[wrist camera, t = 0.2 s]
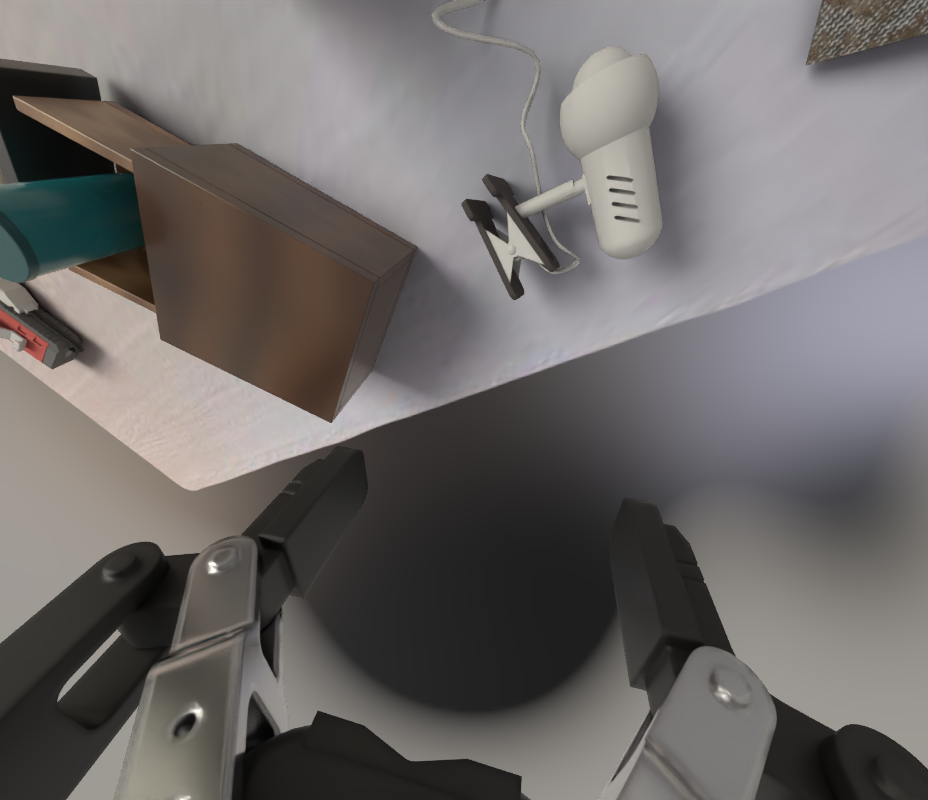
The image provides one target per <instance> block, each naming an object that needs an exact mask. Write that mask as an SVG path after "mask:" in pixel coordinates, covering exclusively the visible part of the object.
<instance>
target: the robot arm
mask: <svg viewBox="0 0 928 800" xmlns="http://www.w3.org/2000/svg"><path fill="white" fill-rule="evenodd" d="M367 490H368V483H367V476H366V469H365V462H364V455H363V452H362V451H361V450H358V449H353V448H347V447H342V446H338V447H336V448H334V450H333V451H332V452H331V453H330V454H329V455H328V456H327V457H326V458H325V460H322V459H318V460H317V461H315V462H314V463H311V464H310V465H308V466H306V467H305V468H303V469H302V470H301V471H300V473H299V474H298V475H297V476H296V477H295V478H294V479H293V480H292V483H289V485H287V487H286V488H285V489H284V490H283V492H282V493H280V494H279V495H278V496H277V497H276V498H275V499H274V500H273V501H272V503H271V504H270V505H269V506H268V507H267V508H266V509H265V510H264V511H263V512H262V513H261V514H260V516H259V517H258V518H257V519H256V520H255V521H254V522H253V523H252V524H251V525H250V526H249V527H248V528H247V529H246V530H245V532H243V533H242V534H241V535H239V536H231V537H227V538H224V539H221V540H219V541H217V542H215V543H213V544H211V545H210V546H208V547H207V548H206V549H204V550H203V551H202V552H201V553H195V554H184V555H173V556H164V554H163V552H162V551H161V549H160V548H159V547H158V545H156V544H154V543H151V542H138V543H133V544H130V545H127V546H124V547H122V548H119V549H117V550H115V551H113V552H112V553H110V554H108V555H107V556H105V557H104V558H102V559H101V560H100V561H98V562H97V563H96V564H95V565H93V566H92V567H91V568H90V569H89V570H88V571H86V572H85V573H84V574H83V575H81V576H80V577H79V578H78V579H77V580H75V581H74V582H73V583H72V584H71V585H70V586H68V587H67V588H66V589H65V590H64V591H62V592H61V593H60V594H59V595H58V596H57V597H55V598H54V599H53V600H52V601H51V602H49V603H48V604H47V605H46V606H45V607H43V608H42V609H41V610H40V611H39V612H37V613H36V614H35V615H34V616H33V617H31V618H30V619H29V620H28V621H27V622H26V623H24V625H22V626H21V627H20V628H19V629H17V630H16V631H15V632H14V633H12V634H11V635H10V636H9V637H8V638H7V639H5V640H4V641H3V642H2V643H1V644H0V800H66V799H67V798H68V796H69V795H70V794H71V792H72V791H73V790H74V789H75V787H76V786H77V785H78V783H79V782H80V781H81V780H82V778H83V777H84V776H85V774H86V773H87V772H88V770H89V769H90V768H91V766H92V765H93V764H94V763H95V761H96V760H97V759H98V757H99V756H100V755H101V754H102V752H103V751H104V750H105V748H106V747H107V746H108V745H109V743H110V742H111V741H112V739H113V738H114V737H115V735H116V734H117V733H118V732H119V730H120V729H121V727H122V726H123V725H124V724H125V722H126V721H127V720H128V719H129V717H130V716H131V715H132V713H133V712H134V711H135V709H136V708H137V707H138V706H139V707H138V711H137V714H136V718H135V722H134V725H133V729H132V733H131V736H130V740H129V745H128V748H127V752H126V755H125V759H124V762H123V766H122V770H121V774H120V777H119V781H118V785H117V788H116V792H115V796H114V799H113V800H530V799H529V798H528V797H526V796H525V795H524V794H523V793H521V778H522V777H521V776H519V775H516V774H513V773H509V772H506V771H503V770H500V769H497V768H494V767H491V766H488V765H485V764H481V763H478V762H475V761H472V760H469V759H458V760H437V761H418V762H415V761H409V760H407V759H405V758H404V757H403V756H401V755H400V754H399V753H398V752H396V751H395V750H394V749H393V748H391V747H390V746H389V745H388V744H386V743H385V742H384V741H383V740H381V739H380V738H379V737H378V736H376V735H375V734H374V733H373V732H371V731H370V730H369V729H368V728H366V727H365V726H363V725H361V724H357V723H354V722H351V721H348V720H345V719H342V718H339V717H336V716H333V715H330V714H327V713H323V712H320V711H317V714H316V716H315V718H314V720H313V723H312V725H310V726H304V727H299V728H295V729H292V730H290V728H289V714H288V705H287V700H286V695H285V690H284V677H283V611H282V605H283V603H284V602H285V600H286V599H287V597H288V596H289V595H292V596H296V597H300V598H304V597H305V596H306V594H307V592H308V591H309V589H310V588H311V586H312V585H313V583H314V581H315V580H316V578H317V577H318V575H319V573H320V572H321V570H322V569H323V567H324V565H325V564H326V562H327V561H328V559H329V557H330V556H331V554H332V553H333V551H334V549H335V548H336V546H337V545H338V543H339V541H340V540H341V538H342V537H343V535H344V534H345V532H346V530H347V529H348V527H349V526H350V524H351V522H352V521H353V519H354V518H355V516H356V514H357V513H358V511H359V509H360V508H361V506H362V504H363V503H364V501H365V498H366V495H367ZM609 558H610V564H611V570H612V576H613V583H614V589H615V595H616V601H617V607H618V614H619V620H620V626H621V632H622V638H623V645H624V651H625V656H626V663H627V669H628V676H629V681H630V686H631V687H634V688H638V689H642V690H646V691H647V695H648V700H649V705H650V710H649V711H648V712H647V714H646V716H645V718H644V719H643V721H642V723H641V724H640V726H639V728H638V730H637V732H636V734H635V735H634V737H633V739H632V741H631V742H630V744H629V746H628V748H627V749H626V751H625V753H624V755H623V757H622V759H621V760H620V762H619V764H618V766H617V767H616V769H615V771H614V773H613V775H612V776H611V778H610V780H609V782H608V784H607V785H606V787H605V789H604V790H603V792H602V793H601V795H600V796H599V798H598V799H597V800H928V769H927V768H926V767H925V766H924V765H923V764H922V763H921V762H920V761H919V760H918V759H917V758H916V757H914V756H913V755H912V754H911V753H910V752H908V751H907V750H906V749H905V748H903V747H902V746H901V745H899V744H898V743H896V742H895V741H894V740H892V739H890V738H889V737H887V736H886V735H884V734H882V733H880V732H878V731H876V730H874V729H871V728H869V727H866V726H862V725H856V724H850V725H846V726H844V727H842V728H841V729H839V730H838V731H834V730H832V729H830V728H829V727H827V726H825V725H823V724H821V723H819V722H817V721H816V720H814V719H812V718H810V717H809V716H807V715H805V714H803V713H801V712H799V711H798V710H796V709H794V708H792V707H790V706H788V705H787V704H785V703H783V702H782V701H780V700H778V699H777V698H775V697H774V696H772V695H771V694H769V692H768V690H767V689H766V687H765V686H764V684H763V683H762V681H761V680H760V679H759V678H758V676H757V675H756V674H755V673H754V672H753V671H752V670H751V669H750V668H749V667H748V666H747V665H746V664H745V663H743V662H742V661H741V660H739V659H738V658H737V657H736V656H735V654H734V652H733V650H732V648H731V645H730V643H729V640H728V638H727V635H726V633H725V630H724V628H723V625H722V623H721V620H720V618H719V616H718V613H717V611H716V608H715V606H714V603H713V600H712V598H711V596H710V593H709V591H708V588H707V586H706V584H705V583H704V578H703V576H702V573H701V571H700V568H699V567H697V561H696V558H695V556H694V553H693V551H692V549H691V546H690V544H689V542H688V541H687V540H686V539H685V538H684V536H683V535H682V534H681V533H680V532H679V531H678V529H677V528H676V527H675V526H671V525H666V524H663V522H662V519H661V516H660V513H659V510H658V507H657V505H656V504H655V503H653V502H647V501H642V500H636V499H630V498H625V499H624V500H623V502H622V504H621V507H620V509H619V512H618V515H617V517H616V520H615V523H614V525H613V528H612V531H611V534H610V539H609ZM116 630H118V631H119V632H120V633H121V635H120V636H119V637H118V639H117V640H116V641H115V642H114V643H113V644H112V645H111V646H110V647H109V648H108V649H107V650H106V651H105V652H104V653H103V654H102V656H101V657H100V658H99V659H98V660H97V661H96V662H95V663H94V664H93V665H92V666H91V667H90V668H89V669H88V671H87V672H86V673H85V674H84V675H83V676H82V677H81V678H80V679H79V680H78V681H77V682H76V683H75V684H74V685H73V686H72V688H71V689H70V690H69V691H68V692H67V693H66V694H65V695H64V696H63V697H62V698H61V699H60V700H59V701H58V702H57V699H58V696H59V693H60V691H61V690H62V688H63V686H64V685H65V684H66V682H67V681H68V680H69V679H70V677H72V675H73V674H74V673H75V672H76V671H77V670H78V669H79V668H80V667H81V666H82V665H83V664H84V663H85V662H86V661H87V660H88V659H89V658H90V657H91V656H92V655H93V654H94V653H95V651H96V650H97V649H98V648H99V647H100V646H101V645H102V644H103V643H104V642H105V641H106V640H107V639H108V638H109V637H110V636H111V635H112V634H113V633H114V632H115V631H116Z"/></svg>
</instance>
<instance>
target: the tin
mask: <svg viewBox="0 0 928 800" xmlns="http://www.w3.org/2000/svg"><path fill="white" fill-rule="evenodd" d="M144 246H145V241H144V234H143V228H142V222H141V216H140V210H139V204H138V198H137V191H136V185H135V179H134V173H132V172H123V173H112V174H102V175H92V176H81V177H71V178H61V179H50V180H40V181H30V182H19V183H9V184H0V277H1V278H3V279H5V280H8V281H11V282H17V283H22V282H26V281H30V280H33V279H35V278H36V277H37V276H41V275H44V274H48V273H51V272H55V271H59V270H62V269H66V268H69V267H73V266H76V265H80V264H84V263H87V262H91V261H94V260H98V259H101V258H105V257H109V256H112V255H116V254H119V253H123V252H126V251H130V250H134V249H137V248H141V247H144Z"/></svg>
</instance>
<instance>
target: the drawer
mask: <svg viewBox="0 0 928 800" xmlns="http://www.w3.org/2000/svg"><path fill="white" fill-rule="evenodd" d="M166 146H190V144H188V143H186V142H185V141H183V140H181V139H179V138H177V137H176V136H174V135H172V134H170V133H169V132H167V131H165V130H163V129H161V128H160V127H158V126H156V125H154V124H153V123H151V122H149V121H147V120H146V119H144V118H142V117H140V116H138V115H137V114H135V113H133V112H131V111H130V110H128V109H126V108H124V107H122V106H121V105H119V104H117V103H115V102H110V101H101V97H100V91H99V86H98V81H97V78H96V77H94V76H92V75H91V74H89V73H87V72H85V71H84V70H82V69H77V68H69V67H61V66H53V65H45V64H38V63H30V62H22V61H14V60H6V59H0V184H9V183H19V182H30V181H40V180H50V179H61V178H71V177H81V176H92V175H102V174H112V173H115V169H114V164H113V162H114V163H116V168H117V173H123V172H132V173H133V167H132V161H131V154H130V148H137V147H143V148H145V147H166ZM69 270H71V271H73V272H75V273H77V274H79V275H81V276H83V277H85V278H87V279H89V280H91V281H93V282H95V283H97V284H99V285H101V286H103V287H105V288H107V289H109V290H111V291H113V292H115V293H117V294H119V295H121V296H123V297H125V298H127V299H129V300H131V301H133V302H135V303H137V304H139V305H141V306H143V307H145V308H147V309H149V310H151V311H153V312H155V313H156V308H155V302H154V296H153V290H152V284H151V277H150V271H149V265H148V259H147V253H146V247H145V246H144V247H141V248H137V249H134V250H130V251H126V252H123V253H119V254H116V255H112V256H109V257H105V258H101V259H98V260H94V261H91V262H87V263H84V264H80V265H76V266H73V267H69Z"/></svg>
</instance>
